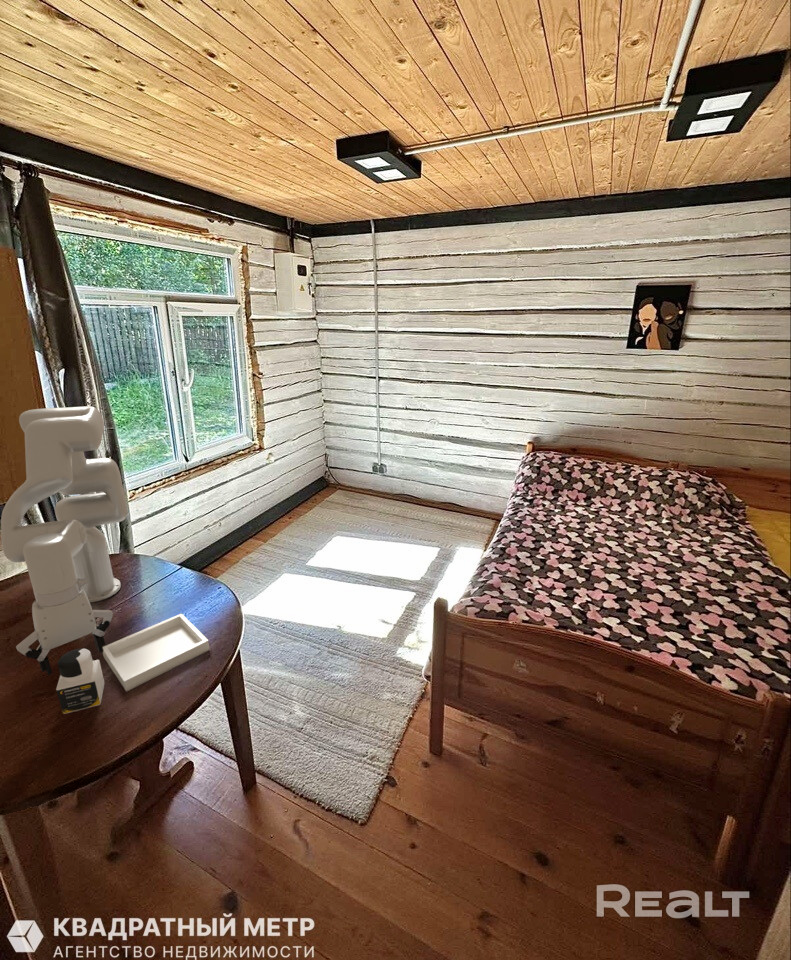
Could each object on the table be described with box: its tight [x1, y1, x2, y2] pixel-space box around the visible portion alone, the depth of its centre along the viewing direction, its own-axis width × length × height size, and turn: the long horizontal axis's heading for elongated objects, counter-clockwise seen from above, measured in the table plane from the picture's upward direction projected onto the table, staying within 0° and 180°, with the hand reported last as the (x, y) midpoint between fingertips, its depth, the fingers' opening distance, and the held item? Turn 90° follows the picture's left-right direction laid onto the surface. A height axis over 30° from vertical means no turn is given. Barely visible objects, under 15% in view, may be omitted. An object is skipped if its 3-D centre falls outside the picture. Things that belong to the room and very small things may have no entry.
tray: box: [102, 613, 210, 692], centre depth 119 cm, size 16×20×3 cm
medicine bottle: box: [55, 648, 105, 715], centre depth 104 cm, size 7×7×12 cm
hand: (75, 660), depth 102 cm, fingers open, 9 cm apart
